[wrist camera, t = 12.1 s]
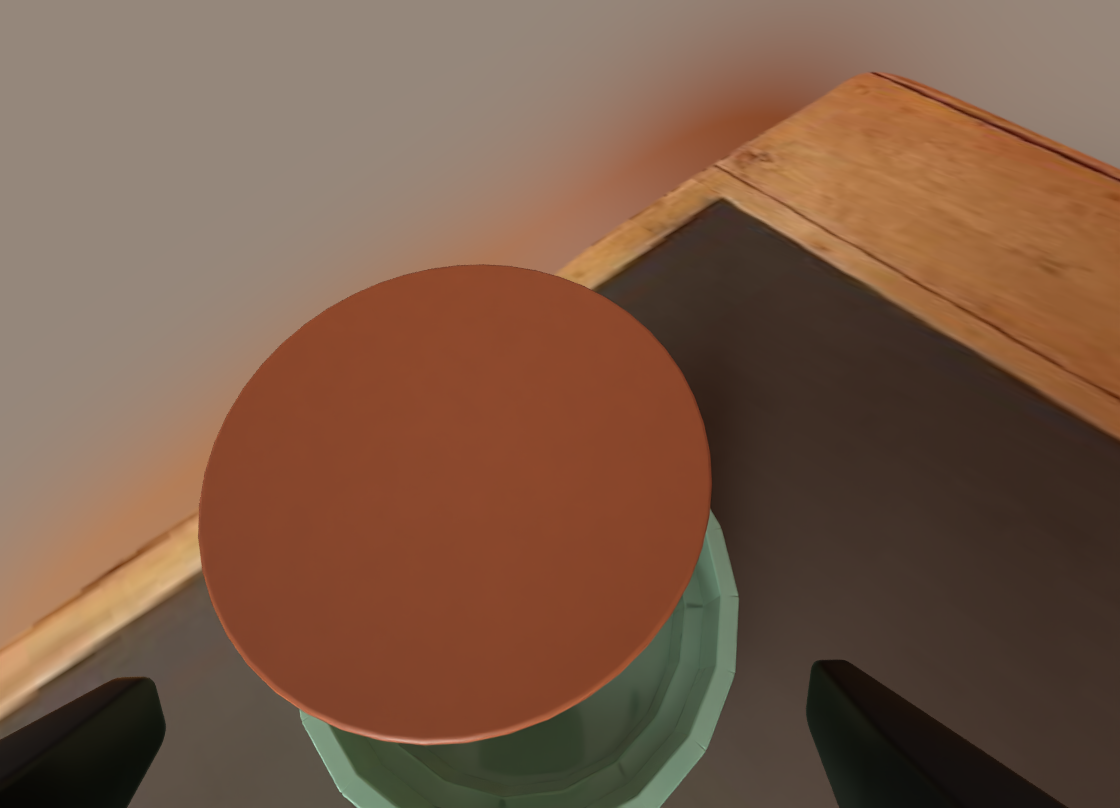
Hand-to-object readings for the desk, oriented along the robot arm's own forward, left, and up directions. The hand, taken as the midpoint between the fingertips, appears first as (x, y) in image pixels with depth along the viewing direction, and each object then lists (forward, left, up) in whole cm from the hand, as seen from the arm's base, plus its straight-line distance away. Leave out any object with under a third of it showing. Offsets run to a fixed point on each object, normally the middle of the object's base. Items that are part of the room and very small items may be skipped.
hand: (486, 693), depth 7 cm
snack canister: (+2, +2, -10) cm, 11 cm away
